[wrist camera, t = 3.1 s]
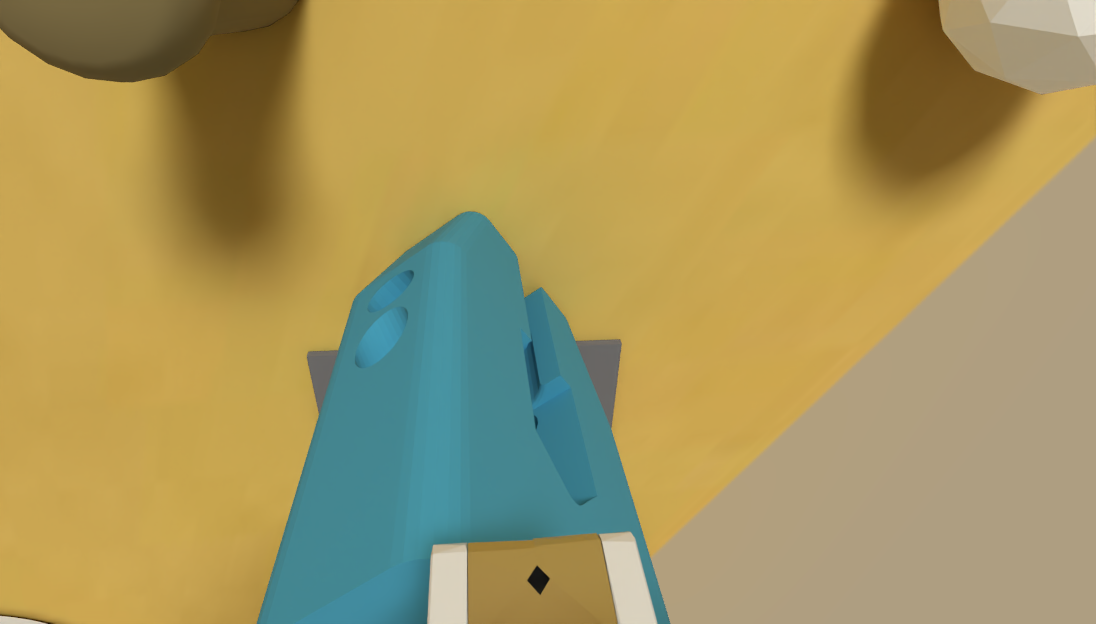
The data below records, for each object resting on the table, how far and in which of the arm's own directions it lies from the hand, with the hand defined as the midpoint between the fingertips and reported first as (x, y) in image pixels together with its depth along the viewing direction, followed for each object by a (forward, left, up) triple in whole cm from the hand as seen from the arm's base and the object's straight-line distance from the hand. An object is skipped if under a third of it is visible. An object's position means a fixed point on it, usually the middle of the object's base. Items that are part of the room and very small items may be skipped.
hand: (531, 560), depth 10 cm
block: (-8, 0, -21) cm, 22 cm away
